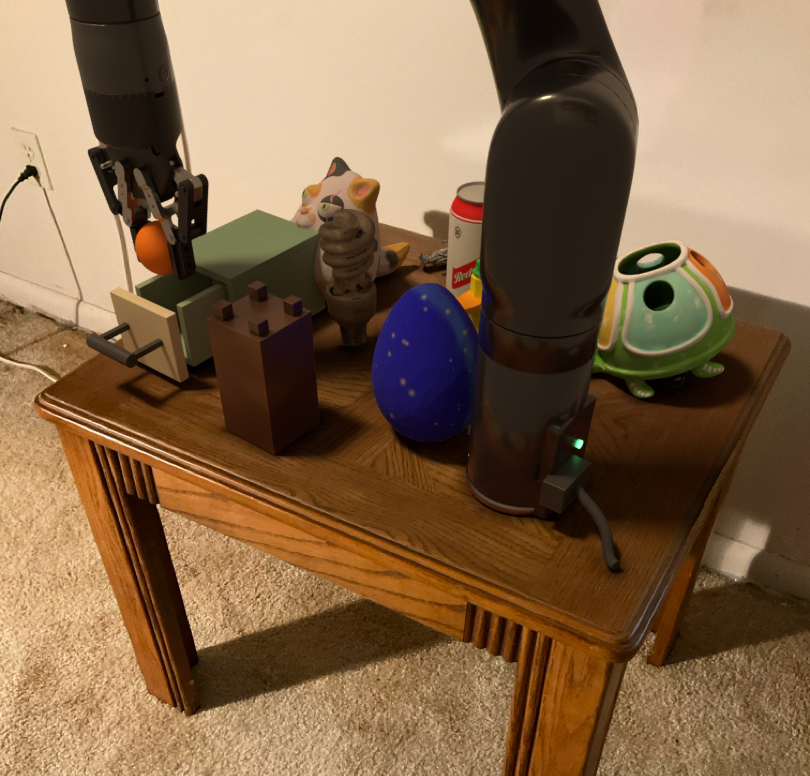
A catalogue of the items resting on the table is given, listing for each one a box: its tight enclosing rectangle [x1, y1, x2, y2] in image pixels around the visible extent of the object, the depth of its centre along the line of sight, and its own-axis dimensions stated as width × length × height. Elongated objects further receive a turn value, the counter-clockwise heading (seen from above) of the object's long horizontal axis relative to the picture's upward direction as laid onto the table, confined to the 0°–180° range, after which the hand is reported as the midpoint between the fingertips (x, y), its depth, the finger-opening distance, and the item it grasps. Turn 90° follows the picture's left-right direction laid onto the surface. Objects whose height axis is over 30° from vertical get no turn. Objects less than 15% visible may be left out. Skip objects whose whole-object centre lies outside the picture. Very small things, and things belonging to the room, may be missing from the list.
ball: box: [134, 219, 178, 275], centre depth 79 cm, size 5×5×5 cm
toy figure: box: [456, 259, 482, 333], centre depth 82 cm, size 7×4×12 cm, turn 137°
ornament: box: [371, 282, 478, 443], centre depth 74 cm, size 11×9×15 cm
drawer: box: [85, 271, 229, 383], centre depth 84 cm, size 17×8×7 cm, turn 143°
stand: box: [206, 281, 321, 456], centre depth 74 cm, size 6×6×13 cm
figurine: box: [289, 156, 411, 302], centre depth 95 cm, size 12×17×15 cm
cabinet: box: [192, 208, 327, 317], centre depth 90 cm, size 14×10×9 cm
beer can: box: [445, 180, 485, 319], centre depth 85 cm, size 6×6×16 cm
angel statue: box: [418, 239, 448, 268], centre depth 103 cm, size 4×8×4 cm
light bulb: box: [318, 209, 377, 351], centre depth 84 cm, size 6×6×15 cm
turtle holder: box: [592, 239, 736, 399], centre depth 82 cm, size 12×18×12 cm
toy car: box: [650, 370, 690, 391], centre depth 86 cm, size 8×3×2 cm, turn 151°
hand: (167, 268), depth 80 cm, fingers closed on ball, 4 cm apart
